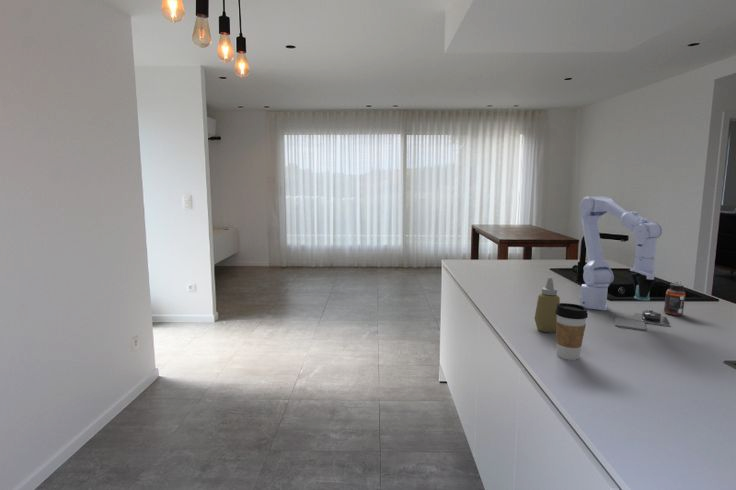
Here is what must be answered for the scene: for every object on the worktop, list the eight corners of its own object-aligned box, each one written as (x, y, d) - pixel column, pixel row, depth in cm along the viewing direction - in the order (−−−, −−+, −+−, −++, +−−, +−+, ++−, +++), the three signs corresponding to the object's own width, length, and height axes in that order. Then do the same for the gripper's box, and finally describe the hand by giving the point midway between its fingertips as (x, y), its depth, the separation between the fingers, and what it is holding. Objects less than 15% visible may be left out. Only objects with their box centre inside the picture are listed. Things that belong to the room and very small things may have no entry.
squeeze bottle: (558, 327, 147) (562, 276, 145) (560, 335, 140) (564, 281, 137) (533, 324, 150) (536, 274, 147) (534, 332, 142) (537, 279, 140)
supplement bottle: (685, 316, 159) (689, 287, 158) (666, 315, 161) (670, 285, 159) (678, 312, 165) (682, 283, 163) (661, 310, 167) (664, 282, 165)
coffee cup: (546, 350, 127) (550, 301, 125) (573, 349, 128) (577, 301, 126) (561, 362, 119) (565, 310, 117) (590, 361, 120) (595, 309, 118)
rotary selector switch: (635, 321, 154) (636, 313, 153) (634, 314, 162) (634, 306, 162) (669, 326, 149) (670, 318, 148) (665, 318, 158) (666, 310, 157)
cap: (631, 296, 153) (632, 282, 153) (645, 297, 153) (647, 283, 152) (637, 300, 149) (639, 285, 148) (652, 300, 148) (654, 286, 147)
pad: (615, 326, 149) (615, 324, 148) (614, 319, 156) (615, 317, 156) (646, 331, 144) (646, 329, 144) (644, 323, 152) (644, 321, 152)
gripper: (625, 253, 157) (621, 289, 159) (639, 260, 143) (635, 299, 145) (647, 254, 155) (643, 290, 157) (663, 261, 141) (658, 301, 143)
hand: (640, 295), depth 151 cm, fingers closed on cap, 4 cm apart
